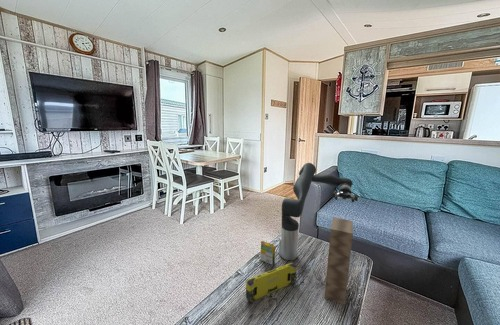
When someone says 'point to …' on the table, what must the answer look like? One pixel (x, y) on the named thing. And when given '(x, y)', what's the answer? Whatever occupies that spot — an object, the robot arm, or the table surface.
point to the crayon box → (267, 252)
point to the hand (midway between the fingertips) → (344, 199)
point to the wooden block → (338, 260)
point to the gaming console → (270, 281)
